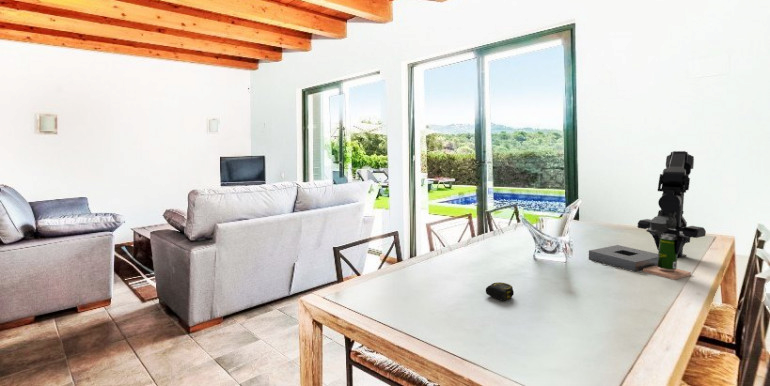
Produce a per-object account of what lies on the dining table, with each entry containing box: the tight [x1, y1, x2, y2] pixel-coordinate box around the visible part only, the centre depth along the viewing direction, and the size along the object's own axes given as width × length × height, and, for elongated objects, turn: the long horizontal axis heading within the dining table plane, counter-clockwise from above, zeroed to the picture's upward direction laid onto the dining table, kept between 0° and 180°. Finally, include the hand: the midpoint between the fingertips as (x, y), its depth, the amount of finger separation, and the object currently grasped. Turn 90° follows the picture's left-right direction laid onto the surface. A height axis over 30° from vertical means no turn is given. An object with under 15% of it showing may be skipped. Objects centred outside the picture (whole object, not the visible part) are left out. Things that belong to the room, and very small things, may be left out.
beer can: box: [657, 234, 678, 271], centre depth 136 cm, size 5×5×12 cm
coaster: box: [642, 265, 692, 281], centre depth 136 cm, size 10×10×1 cm
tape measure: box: [485, 282, 514, 302], centre depth 116 cm, size 7×7×4 cm
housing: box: [588, 244, 658, 273], centre depth 150 cm, size 18×18×4 cm
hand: (668, 252), depth 136 cm, fingers closed on beer can, 5 cm apart
